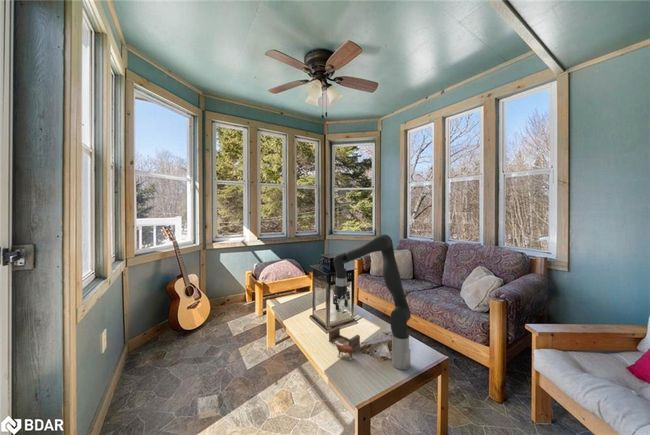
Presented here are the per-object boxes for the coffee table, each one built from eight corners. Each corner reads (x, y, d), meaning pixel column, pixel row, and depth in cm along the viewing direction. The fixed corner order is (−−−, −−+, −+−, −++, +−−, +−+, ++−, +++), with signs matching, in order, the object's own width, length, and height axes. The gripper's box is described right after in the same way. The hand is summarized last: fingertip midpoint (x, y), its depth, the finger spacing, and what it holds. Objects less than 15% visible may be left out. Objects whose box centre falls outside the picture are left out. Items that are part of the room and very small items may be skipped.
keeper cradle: (359, 346, 162) (359, 335, 161) (351, 352, 155) (351, 341, 155) (337, 336, 175) (337, 326, 175) (328, 341, 168) (328, 330, 168)
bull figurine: (335, 351, 157) (335, 338, 156) (355, 357, 150) (355, 344, 149) (332, 355, 153) (331, 342, 152) (352, 361, 146) (352, 348, 146)
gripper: (338, 287, 156) (338, 313, 157) (352, 282, 167) (353, 306, 167) (329, 285, 162) (330, 310, 162) (344, 280, 172) (344, 303, 172)
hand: (341, 308), depth 165 cm, fingers open, 8 cm apart
